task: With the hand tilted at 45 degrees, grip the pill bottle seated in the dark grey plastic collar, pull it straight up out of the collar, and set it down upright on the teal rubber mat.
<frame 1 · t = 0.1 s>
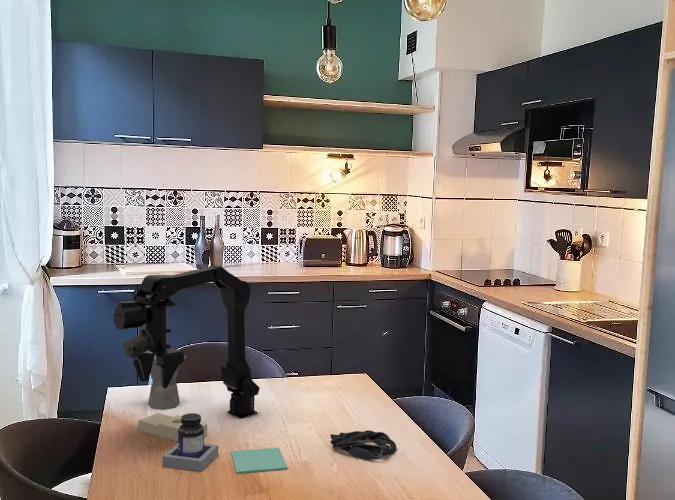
hand: (155, 383, 171), 15 cm above the table, tool pointing down, fingers open, 9 cm apart
cable: (361, 449, 170), on the table
mat: (258, 461, 160), on the table
collar: (190, 460, 159), on the table
electrical outlet: (172, 435, 176), on the table
coffeepot: (160, 405, 198), on the table
pill bottle: (190, 461, 159), resting in collar
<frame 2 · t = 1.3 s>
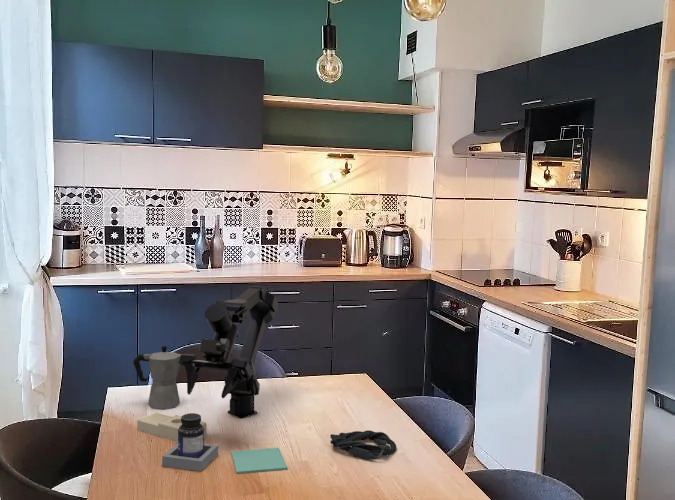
hand: (205, 395, 166), 14 cm above the table, tool tilted 45°, fingers open, 9 cm apart
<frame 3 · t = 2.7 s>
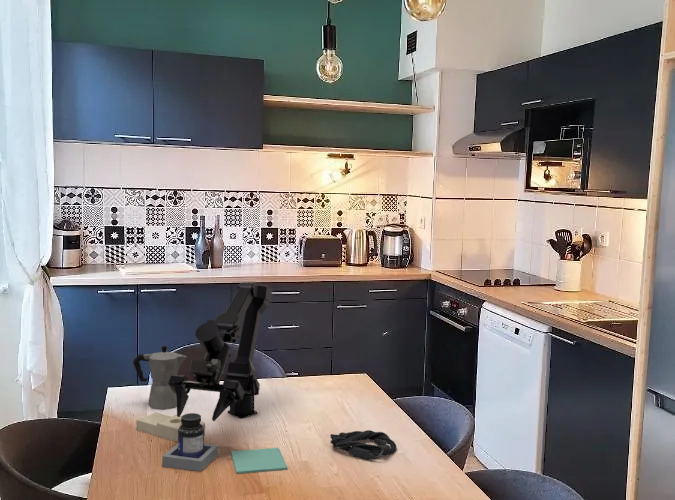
hand: (195, 418, 161), 10 cm above the table, tool tilted 45°, fingers open, 9 cm apart
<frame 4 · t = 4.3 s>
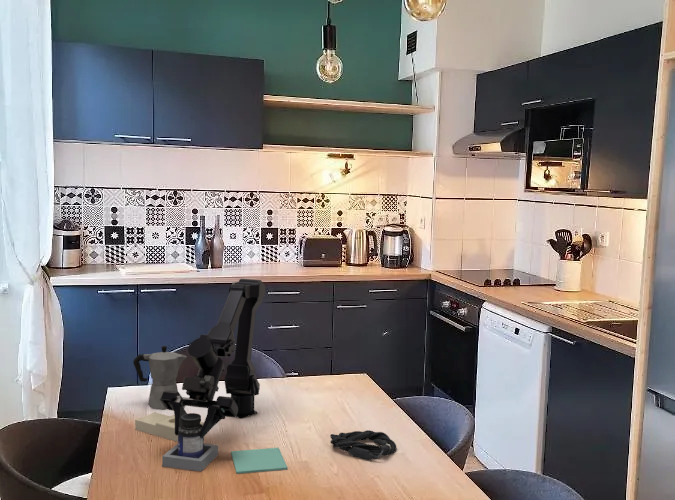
hand: (188, 436, 157), 7 cm above the table, tool tilted 45°, fingers closed on pill bottle, 6 cm apart
pill bottle: (190, 461, 159), resting in collar, touching gripper
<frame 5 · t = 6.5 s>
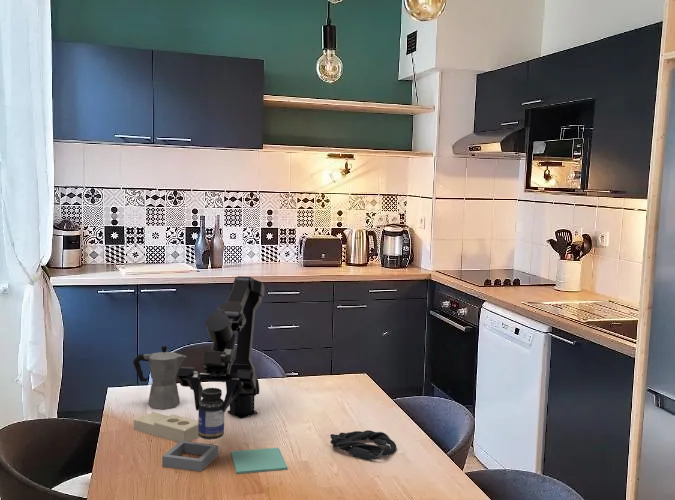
hand: (210, 410, 156), 13 cm above the table, tool tilted 45°, fingers closed on pill bottle, 6 cm apart
pill bottle: (211, 436, 158), point 6 cm above the table, touching gripper
when the fingers open (8 cm above the table, at t = 9.1 s): pill bottle drops 1 cm, resting on mat.
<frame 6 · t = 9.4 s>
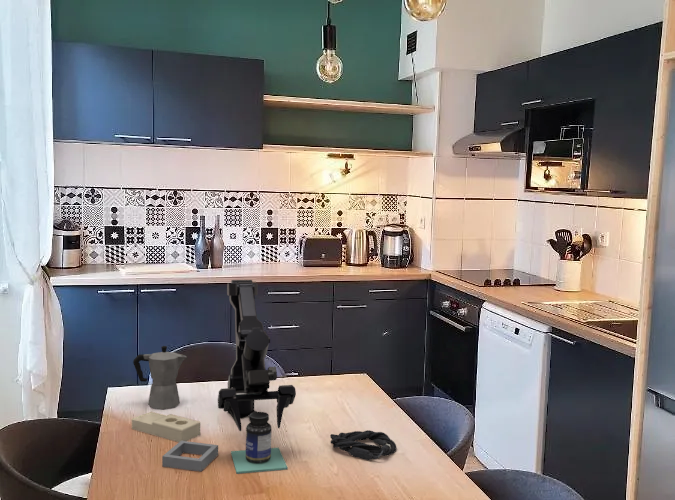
hand: (259, 429, 158), 9 cm above the table, tool tilted 45°, fingers open, 9 cm apart
pill bottle: (258, 459, 160), resting on mat
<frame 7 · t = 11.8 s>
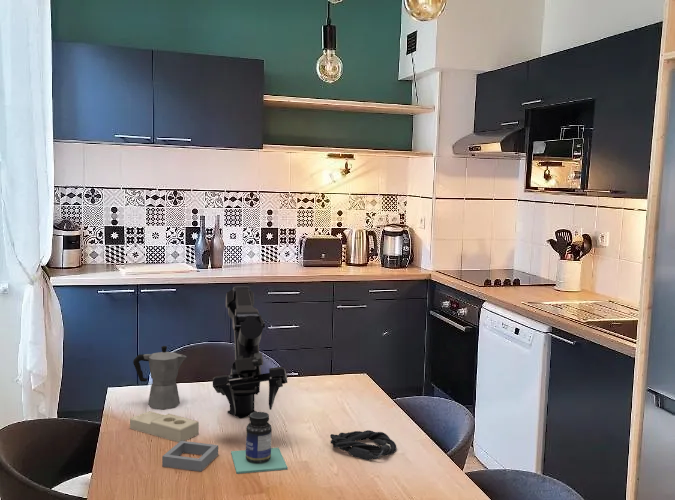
hand: (252, 411, 168), 9 cm above the table, tool tilted 40°, fingers open, 9 cm apart
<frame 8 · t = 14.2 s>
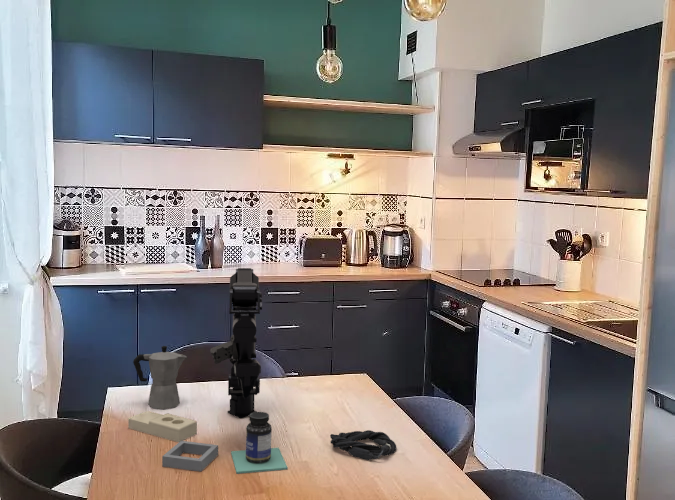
hand: (243, 391, 172), 13 cm above the table, tool pointing down, fingers open, 9 cm apart
at the end: pill bottle inside the target area on the mat (0.1 cm from its centre), point 0.3 cm above the mat's base; pill bottle tilted 0°; the gripper is holding nothing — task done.
